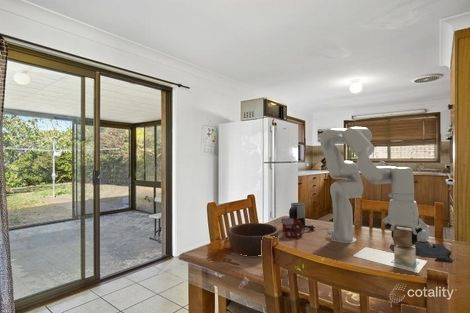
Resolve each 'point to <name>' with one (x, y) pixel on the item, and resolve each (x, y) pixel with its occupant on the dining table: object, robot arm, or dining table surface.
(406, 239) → the walnut block
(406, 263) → the birch block
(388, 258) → the build plate
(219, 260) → the dining table surface
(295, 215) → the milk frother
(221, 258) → the dining table surface
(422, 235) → the cup
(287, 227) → the toy fire truck
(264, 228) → the wooden bowl
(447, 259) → the dark slate chunk
